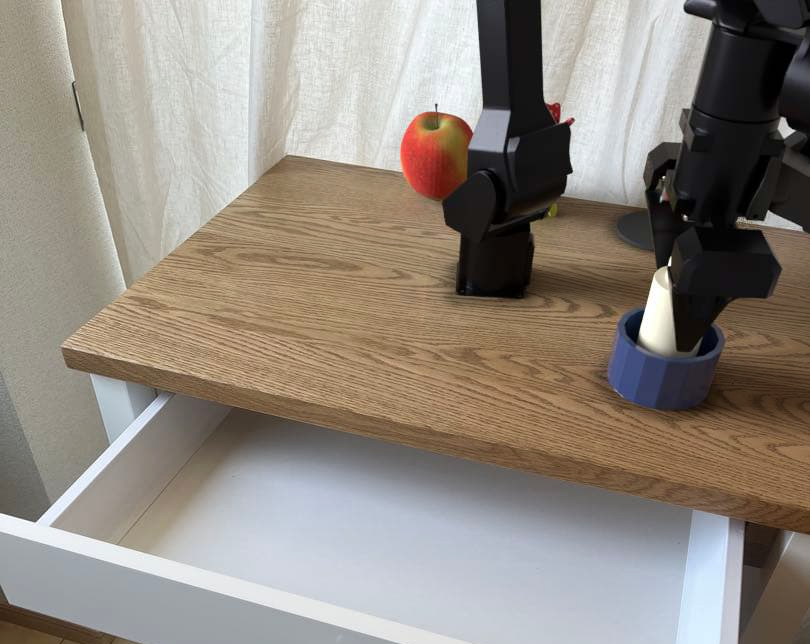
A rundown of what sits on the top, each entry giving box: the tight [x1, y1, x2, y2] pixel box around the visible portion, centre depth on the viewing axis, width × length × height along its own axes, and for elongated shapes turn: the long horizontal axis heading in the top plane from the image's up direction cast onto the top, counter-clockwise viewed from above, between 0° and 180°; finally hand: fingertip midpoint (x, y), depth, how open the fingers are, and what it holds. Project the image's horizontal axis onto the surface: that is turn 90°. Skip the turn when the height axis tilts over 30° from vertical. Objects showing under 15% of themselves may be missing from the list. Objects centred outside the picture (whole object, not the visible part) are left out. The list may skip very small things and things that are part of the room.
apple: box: [399, 103, 474, 201], centre depth 90 cm, size 8×8×10 cm
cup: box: [606, 305, 727, 411], centre depth 67 cm, size 8×8×5 cm
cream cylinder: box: [636, 256, 702, 359], centre depth 64 cm, size 5×5×12 cm
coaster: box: [615, 209, 654, 252], centre depth 88 cm, size 9×9×1 cm
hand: (674, 319), depth 65 cm, fingers open, 8 cm apart
